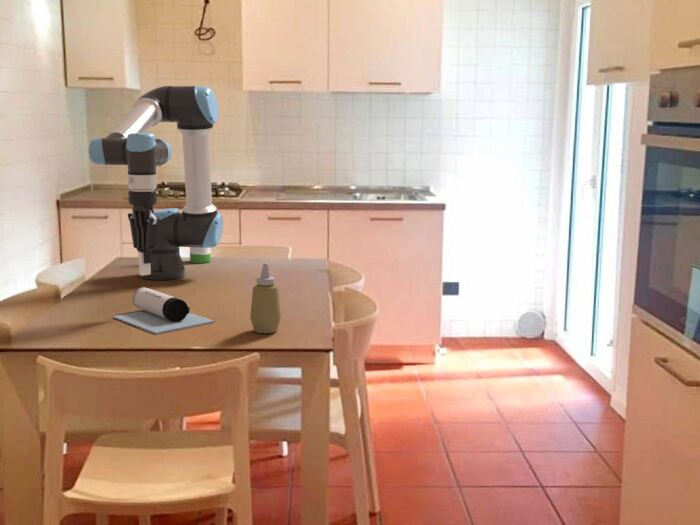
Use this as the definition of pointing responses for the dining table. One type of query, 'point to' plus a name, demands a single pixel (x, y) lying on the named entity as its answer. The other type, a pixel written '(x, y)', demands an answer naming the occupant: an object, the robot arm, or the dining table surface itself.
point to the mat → (161, 322)
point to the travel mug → (160, 304)
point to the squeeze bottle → (265, 304)
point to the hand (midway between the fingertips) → (145, 274)
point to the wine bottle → (200, 254)
